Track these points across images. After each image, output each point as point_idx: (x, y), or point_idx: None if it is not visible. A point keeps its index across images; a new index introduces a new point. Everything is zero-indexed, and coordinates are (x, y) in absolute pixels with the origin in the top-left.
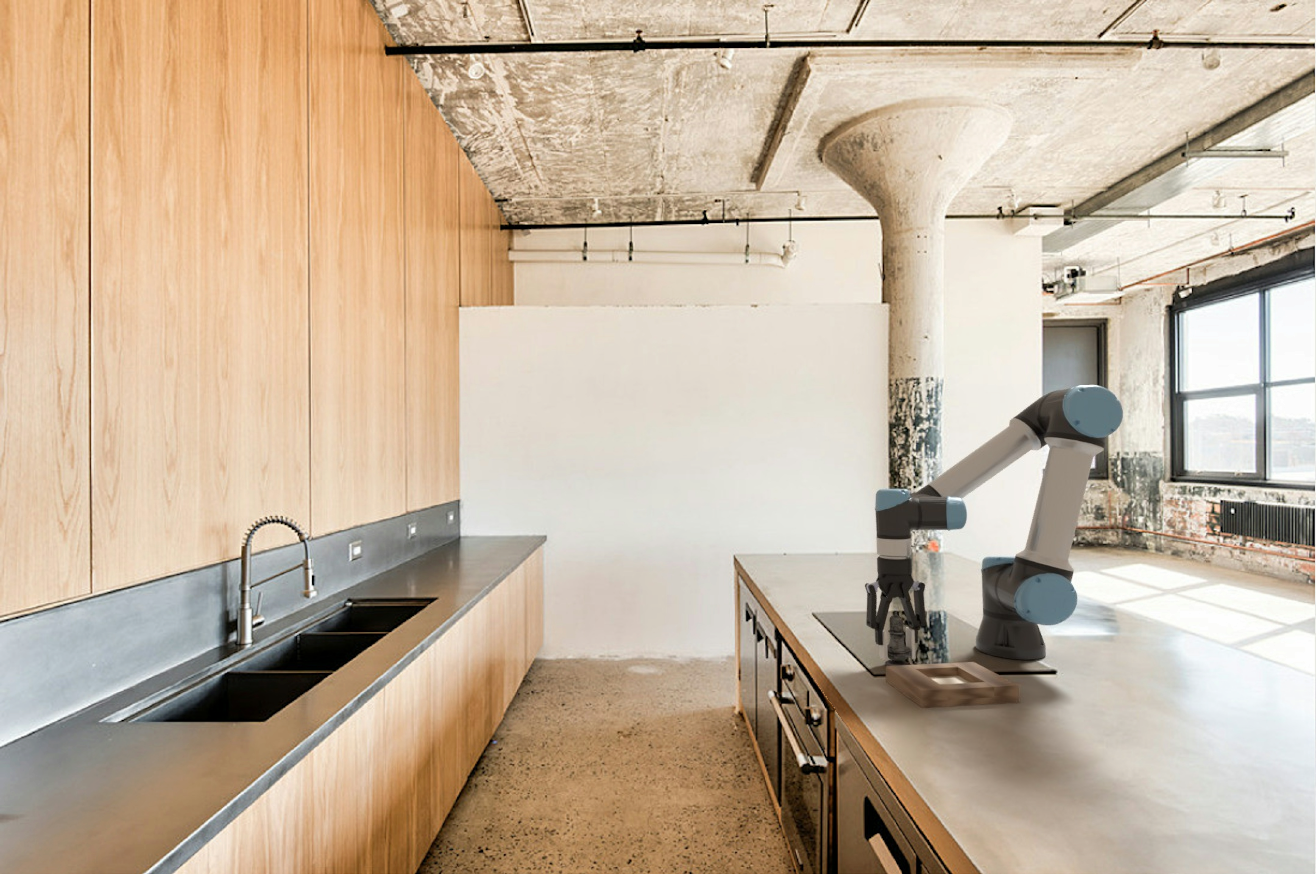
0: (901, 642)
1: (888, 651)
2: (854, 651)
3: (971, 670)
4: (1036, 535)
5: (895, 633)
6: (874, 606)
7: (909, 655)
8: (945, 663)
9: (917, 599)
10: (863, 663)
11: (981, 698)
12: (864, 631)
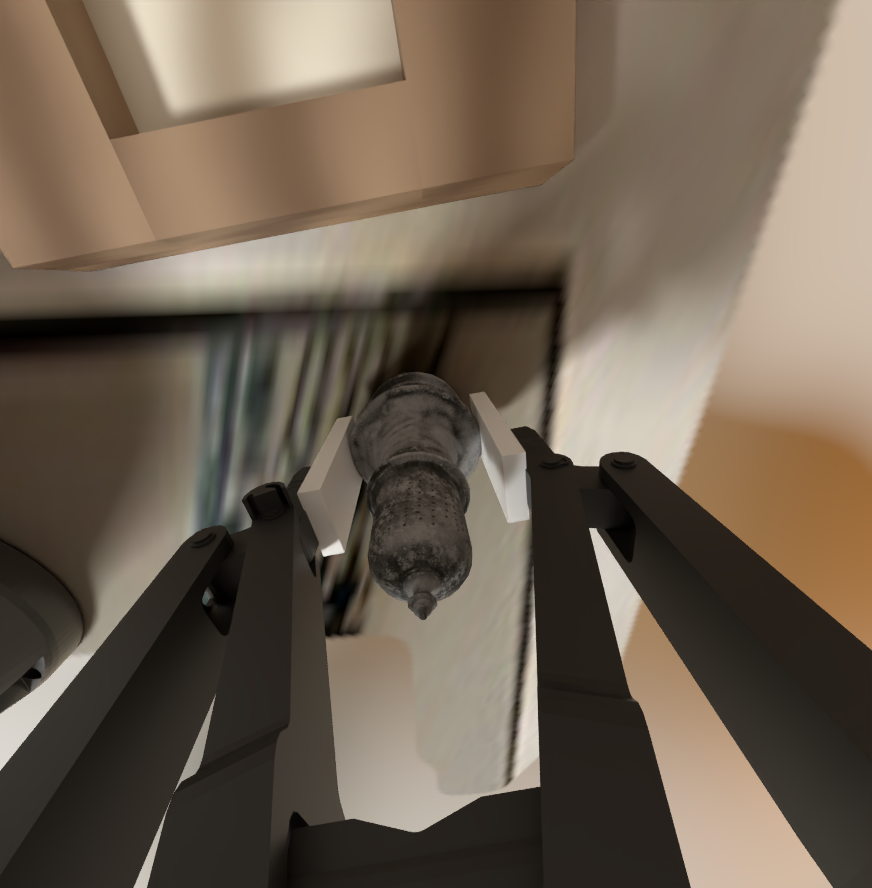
0: (399, 437)
1: (468, 417)
2: (516, 563)
3: (5, 33)
4: None
5: (439, 456)
6: (759, 599)
7: None
8: (189, 229)
9: (85, 815)
10: None
11: None
12: (419, 715)
